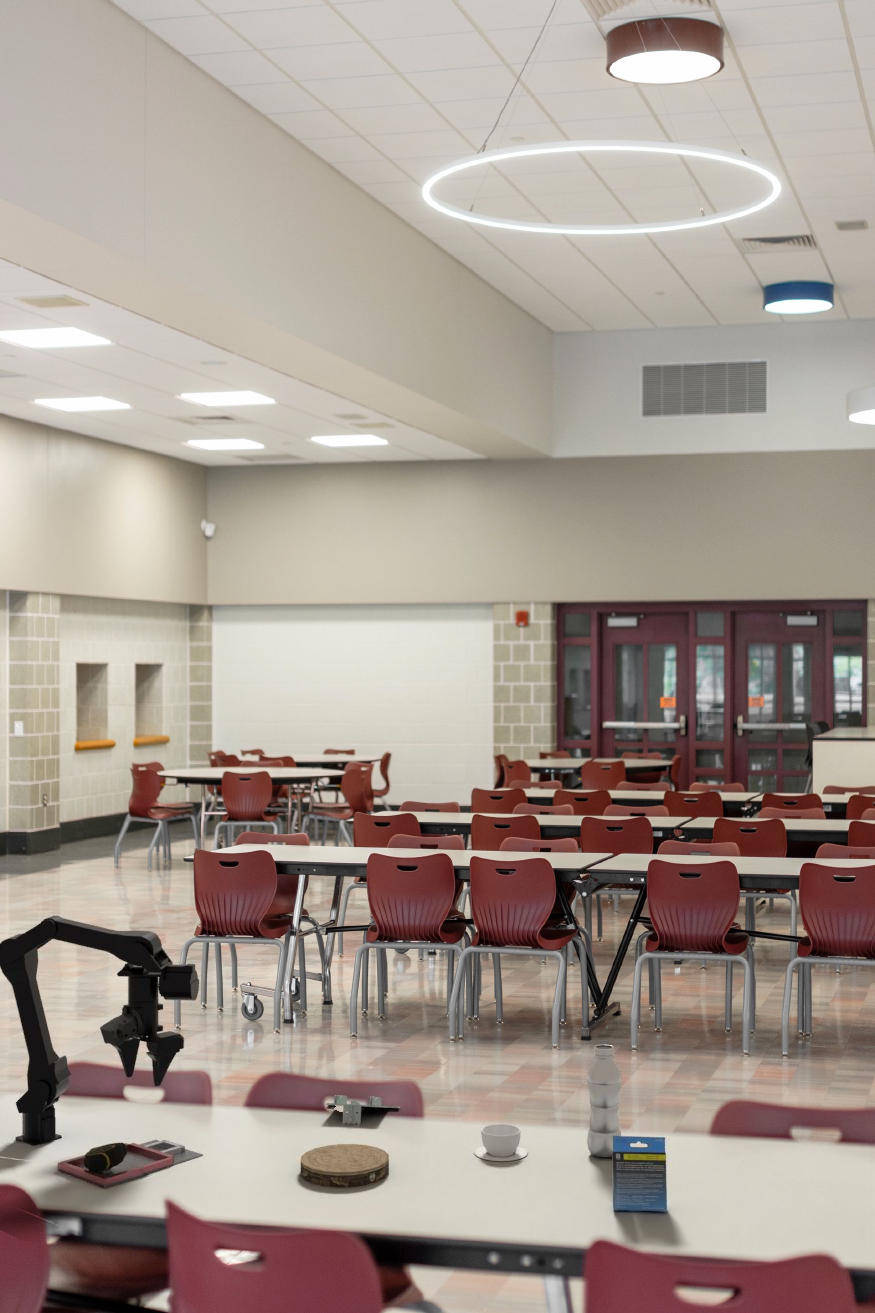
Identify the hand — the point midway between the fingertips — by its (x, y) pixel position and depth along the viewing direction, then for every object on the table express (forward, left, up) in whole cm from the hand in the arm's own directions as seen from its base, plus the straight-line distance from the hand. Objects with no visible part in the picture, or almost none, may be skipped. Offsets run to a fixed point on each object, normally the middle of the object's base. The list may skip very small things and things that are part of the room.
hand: (143, 1081), depth 279 cm
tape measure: (+8, -12, -11) cm, 18 cm away
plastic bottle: (+71, +51, -12) cm, 88 cm away
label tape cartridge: (+91, +32, -12) cm, 97 cm away
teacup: (+56, +40, -12) cm, 69 cm away
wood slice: (+41, +13, -12) cm, 45 cm away
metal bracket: (+25, +44, -11) cm, 52 cm away
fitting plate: (+8, -9, -12) cm, 17 cm away
